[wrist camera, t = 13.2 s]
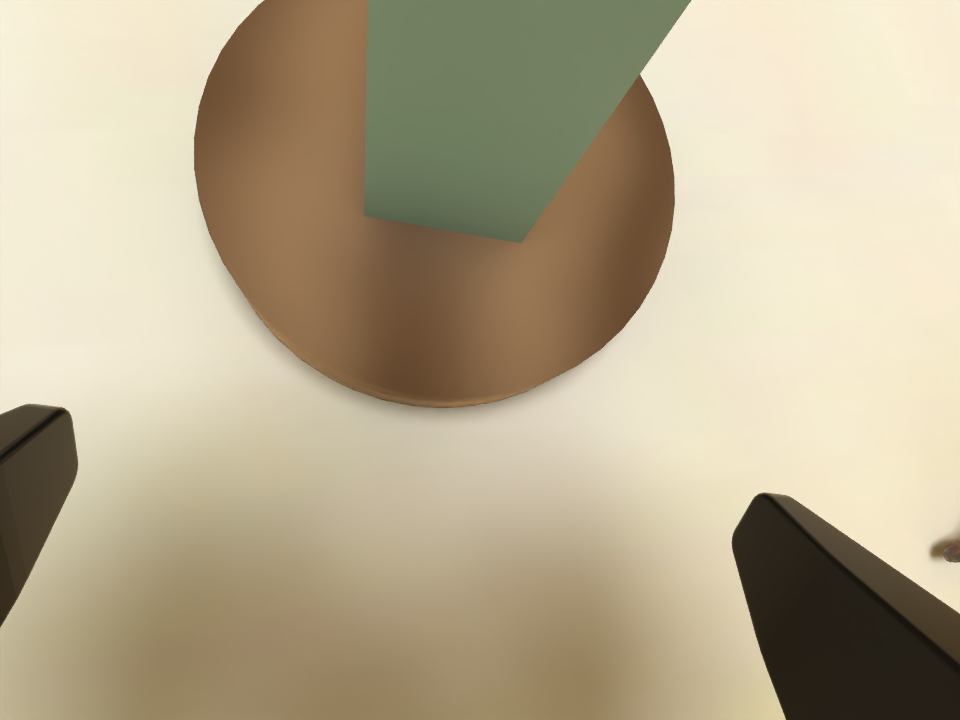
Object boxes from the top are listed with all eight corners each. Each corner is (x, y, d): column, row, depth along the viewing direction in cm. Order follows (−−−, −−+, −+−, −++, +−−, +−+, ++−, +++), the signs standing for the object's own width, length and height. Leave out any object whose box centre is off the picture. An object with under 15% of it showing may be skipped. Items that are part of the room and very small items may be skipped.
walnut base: (649, 60, 23) (684, 10, 20) (626, 434, 20) (663, 429, 17) (261, -36, 20) (247, -104, 18) (171, 373, 17) (140, 357, 15)
